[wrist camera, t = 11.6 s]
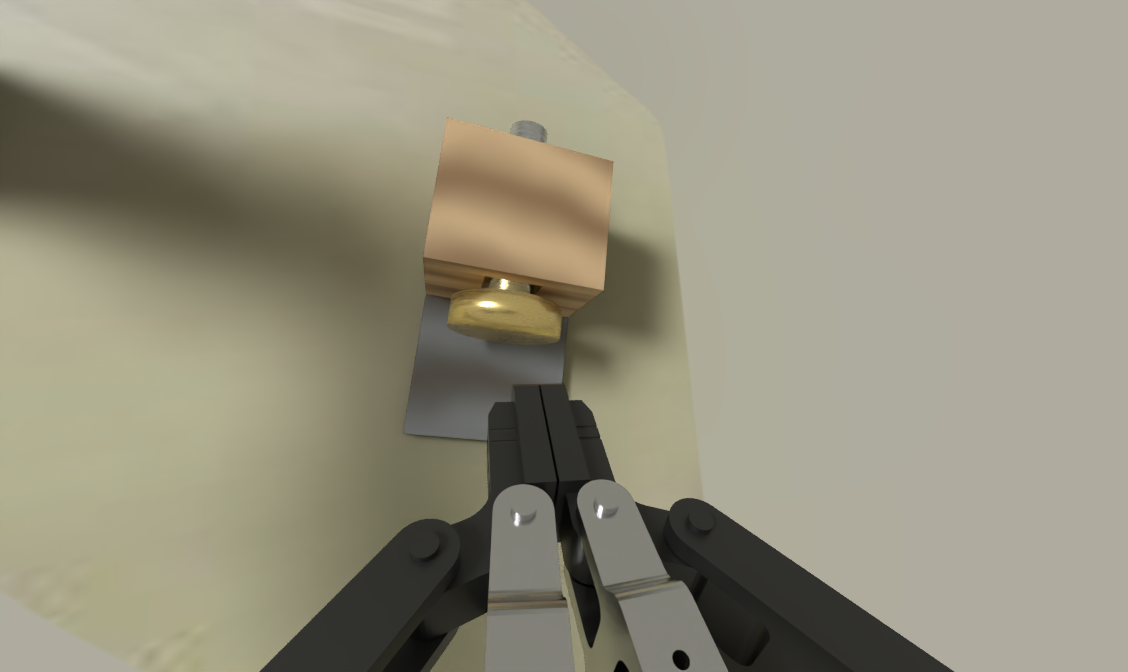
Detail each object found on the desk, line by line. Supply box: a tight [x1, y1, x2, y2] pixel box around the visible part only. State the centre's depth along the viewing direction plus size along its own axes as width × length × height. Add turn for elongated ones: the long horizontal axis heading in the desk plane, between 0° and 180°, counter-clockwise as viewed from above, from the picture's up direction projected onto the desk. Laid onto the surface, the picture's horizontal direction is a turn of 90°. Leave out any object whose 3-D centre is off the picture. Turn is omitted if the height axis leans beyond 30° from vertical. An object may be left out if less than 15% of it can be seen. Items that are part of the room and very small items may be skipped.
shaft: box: [447, 121, 563, 345], centre depth 33 cm, size 16×8×8 cm, turn 175°
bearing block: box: [403, 117, 613, 440], centre depth 33 cm, size 21×12×10 cm, turn 175°
